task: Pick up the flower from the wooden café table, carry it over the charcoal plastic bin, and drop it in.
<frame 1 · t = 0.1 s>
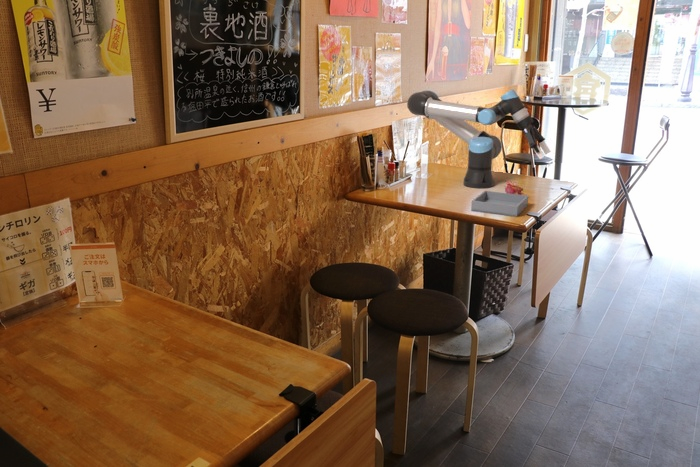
hand: (545, 155, 285), 15 cm above the table, tool tilted 35°, fingers open, 13 cm apart
bin: (499, 208, 252), on the table
flower: (513, 198, 268), on the table
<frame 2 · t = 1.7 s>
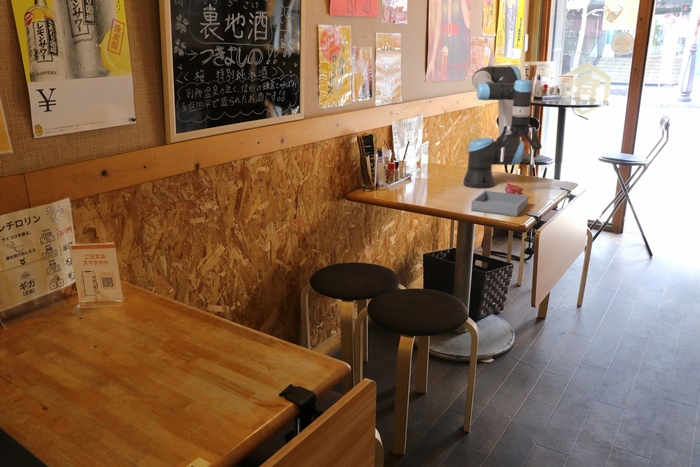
hand: (516, 162, 263), 17 cm above the table, tool pointing down, fingers open, 13 cm apart
nothing on the table moved.
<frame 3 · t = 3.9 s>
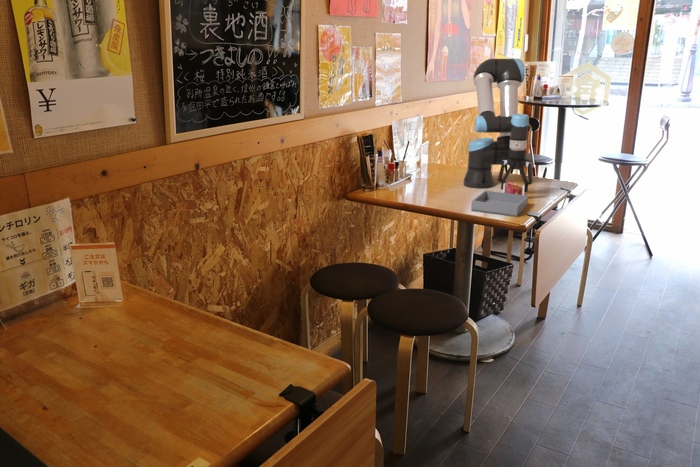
hand: (513, 197, 268), 0 cm above the table, tool pointing down, fingers closed on flower, 8 cm apart
flower: (513, 198, 268), on the table, touching gripper
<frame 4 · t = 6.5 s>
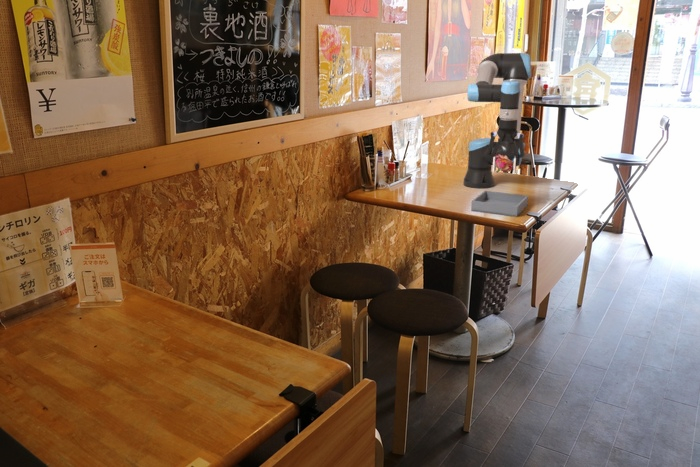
hand: (504, 172, 248), 16 cm above the table, tool pointing down, fingers closed on flower, 8 cm apart
flower: (504, 173, 248), point 15 cm above the table, touching gripper
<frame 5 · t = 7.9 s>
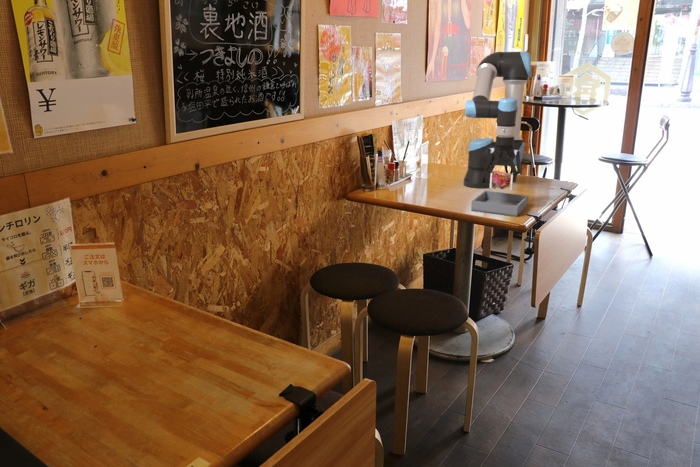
hand: (501, 188, 249), 9 cm above the table, tool pointing down, fingers closed on flower, 8 cm apart
flower: (501, 189, 249), point 9 cm above the table, touching gripper
when the fingers open (6 cm above the table, at t = 9.3 s): flower drops 5 cm, resting on bin.
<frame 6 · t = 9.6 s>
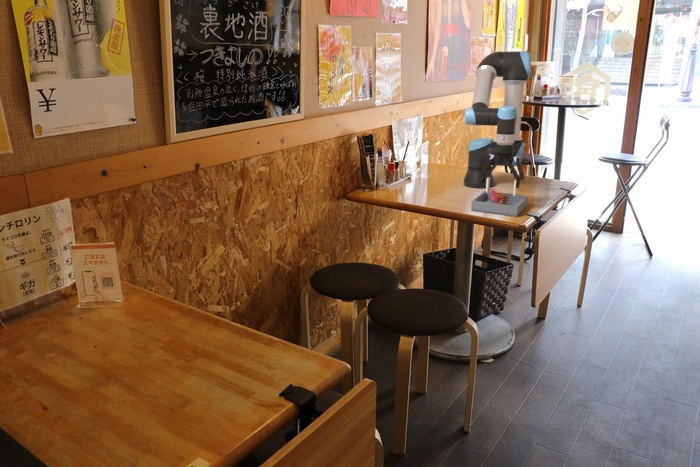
hand: (500, 193, 250), 7 cm above the table, tool pointing down, fingers open, 11 cm apart
flower: (498, 206, 252), point 1 cm above the table, touching bin
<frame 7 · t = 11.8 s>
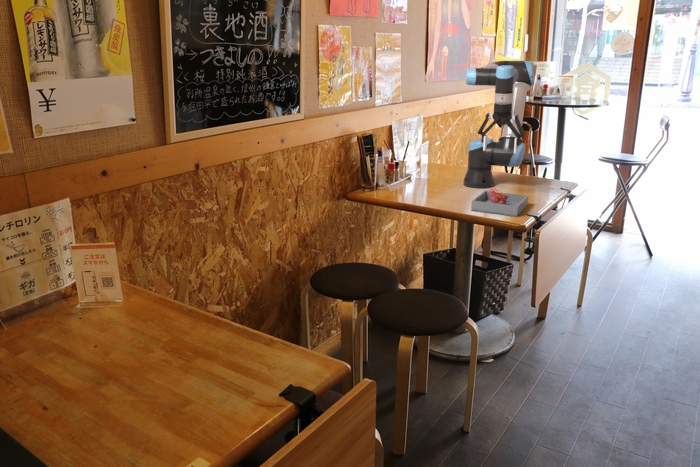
hand: (499, 151, 255), 23 cm above the table, tool pointing down, fingers open, 13 cm apart
nothing on the table moved.
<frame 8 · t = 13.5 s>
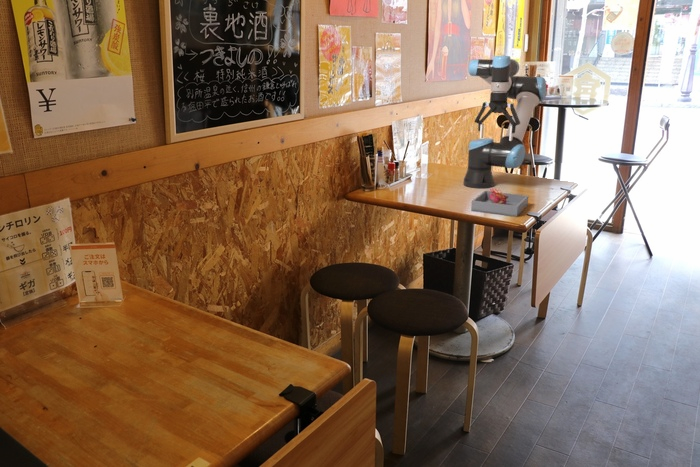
hand: (495, 139, 263), 27 cm above the table, tool pointing down, fingers open, 13 cm apart
nothing on the table moved.
at the end: flower inside the target area on the bin (0.9 cm from its centre), point 0.6 cm above the bin's base; the gripper is holding nothing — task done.
